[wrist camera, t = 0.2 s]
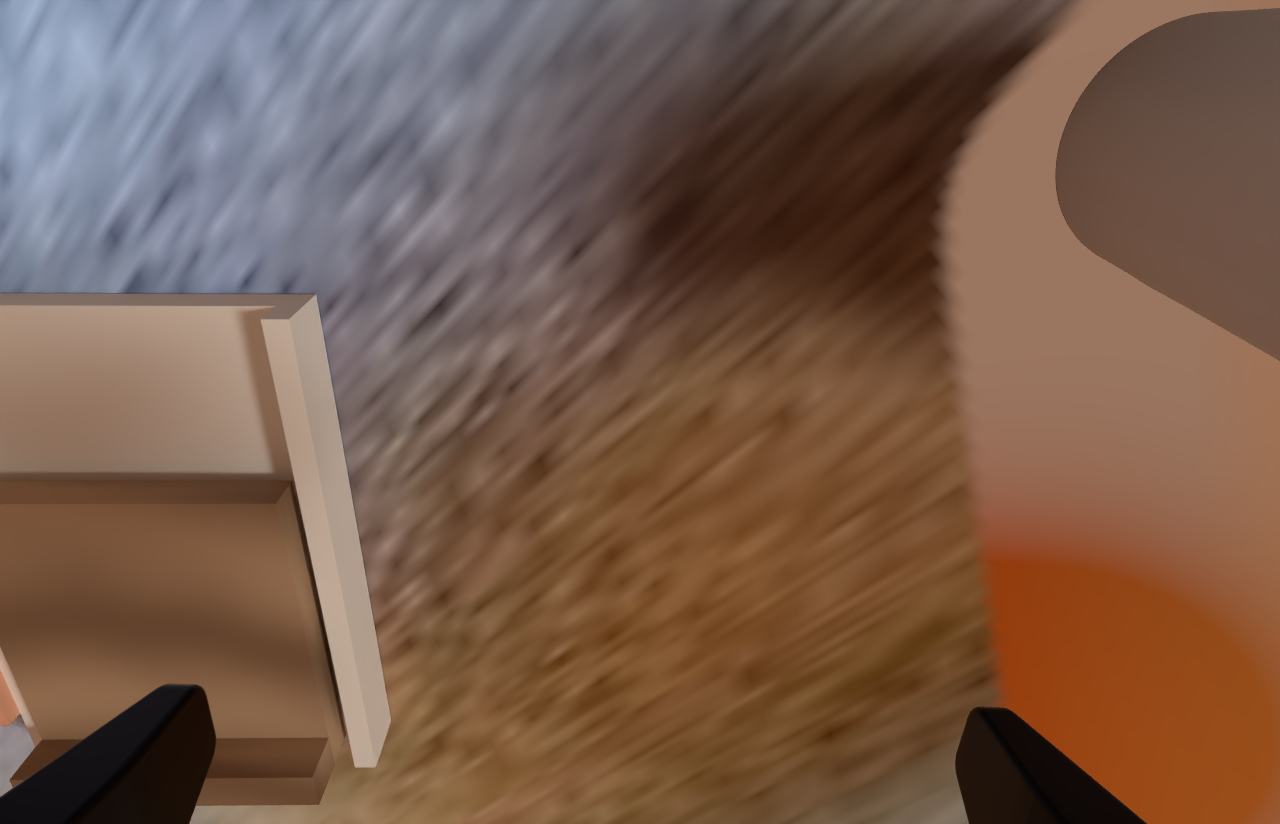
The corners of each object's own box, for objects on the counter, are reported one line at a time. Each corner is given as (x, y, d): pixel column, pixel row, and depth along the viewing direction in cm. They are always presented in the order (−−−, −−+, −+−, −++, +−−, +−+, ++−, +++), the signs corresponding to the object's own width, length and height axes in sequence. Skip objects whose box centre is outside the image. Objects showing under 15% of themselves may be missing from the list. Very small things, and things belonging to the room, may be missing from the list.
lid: (346, 734, 27) (318, 804, 25) (76, 736, 27) (22, 807, 25) (292, 480, 23) (252, 536, 20) (-31, 480, 23) (-109, 537, 20)
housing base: (391, 720, 29) (375, 767, 27) (81, 722, 29) (46, 769, 27) (316, 294, 22) (289, 319, 20) (-96, 292, 22) (-160, 318, 20)
